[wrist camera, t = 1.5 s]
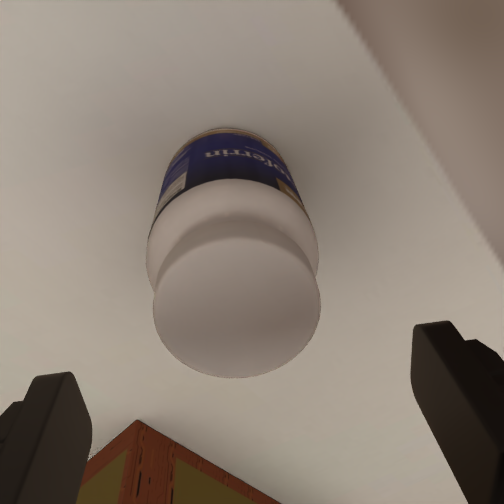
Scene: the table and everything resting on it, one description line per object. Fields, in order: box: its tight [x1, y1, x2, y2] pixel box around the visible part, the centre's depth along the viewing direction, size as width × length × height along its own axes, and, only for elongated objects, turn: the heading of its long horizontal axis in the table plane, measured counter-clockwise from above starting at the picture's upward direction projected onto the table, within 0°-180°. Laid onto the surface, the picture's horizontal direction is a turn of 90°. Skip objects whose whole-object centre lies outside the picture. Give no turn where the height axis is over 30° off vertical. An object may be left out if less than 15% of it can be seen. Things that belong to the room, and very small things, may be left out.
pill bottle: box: [146, 128, 321, 378], centre depth 18 cm, size 6×6×10 cm
